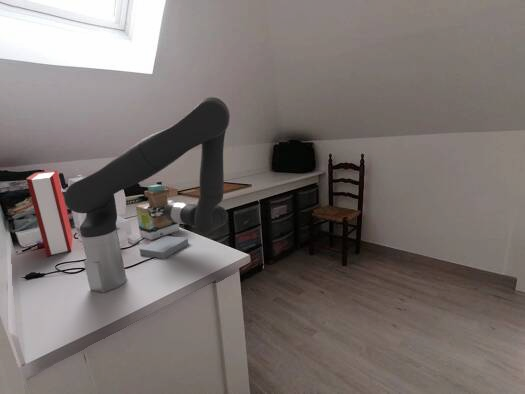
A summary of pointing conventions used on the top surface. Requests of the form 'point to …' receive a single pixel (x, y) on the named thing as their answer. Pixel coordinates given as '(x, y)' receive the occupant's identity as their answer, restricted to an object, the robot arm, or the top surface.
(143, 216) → the tea box
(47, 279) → the top surface
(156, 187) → the teal block
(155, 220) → the wooden pedestal column
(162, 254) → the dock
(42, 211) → the book
